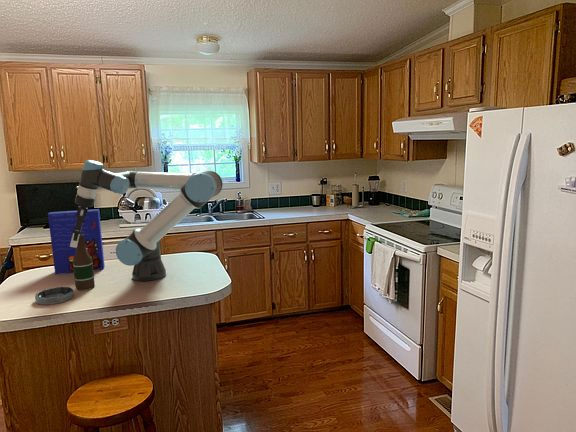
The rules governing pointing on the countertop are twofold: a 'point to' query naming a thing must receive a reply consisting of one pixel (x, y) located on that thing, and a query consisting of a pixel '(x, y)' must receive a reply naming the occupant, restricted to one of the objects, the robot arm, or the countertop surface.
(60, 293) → the dark grey shallow dish
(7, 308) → the countertop surface
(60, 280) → the countertop surface
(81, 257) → the beer bottle
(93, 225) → the cereal box
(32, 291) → the countertop surface
